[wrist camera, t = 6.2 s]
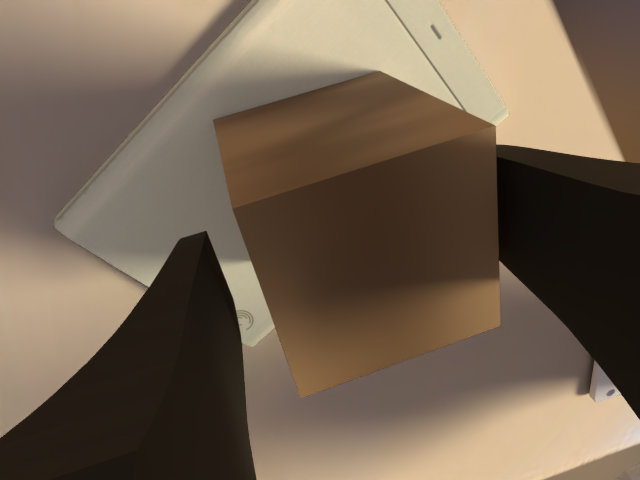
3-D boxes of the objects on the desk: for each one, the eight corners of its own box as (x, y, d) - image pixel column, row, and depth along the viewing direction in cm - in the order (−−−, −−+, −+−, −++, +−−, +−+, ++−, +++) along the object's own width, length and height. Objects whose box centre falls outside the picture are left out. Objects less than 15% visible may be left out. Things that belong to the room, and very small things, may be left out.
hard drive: (253, 353, 18) (516, 117, 16) (47, 229, 14) (366, -121, 11) (248, 324, 19) (489, 104, 17) (60, 204, 15) (346, -112, 13)
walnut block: (379, 70, 14) (495, 125, 9) (401, 217, 16) (500, 325, 11) (212, 119, 13) (232, 208, 8) (262, 263, 16) (300, 398, 11)
